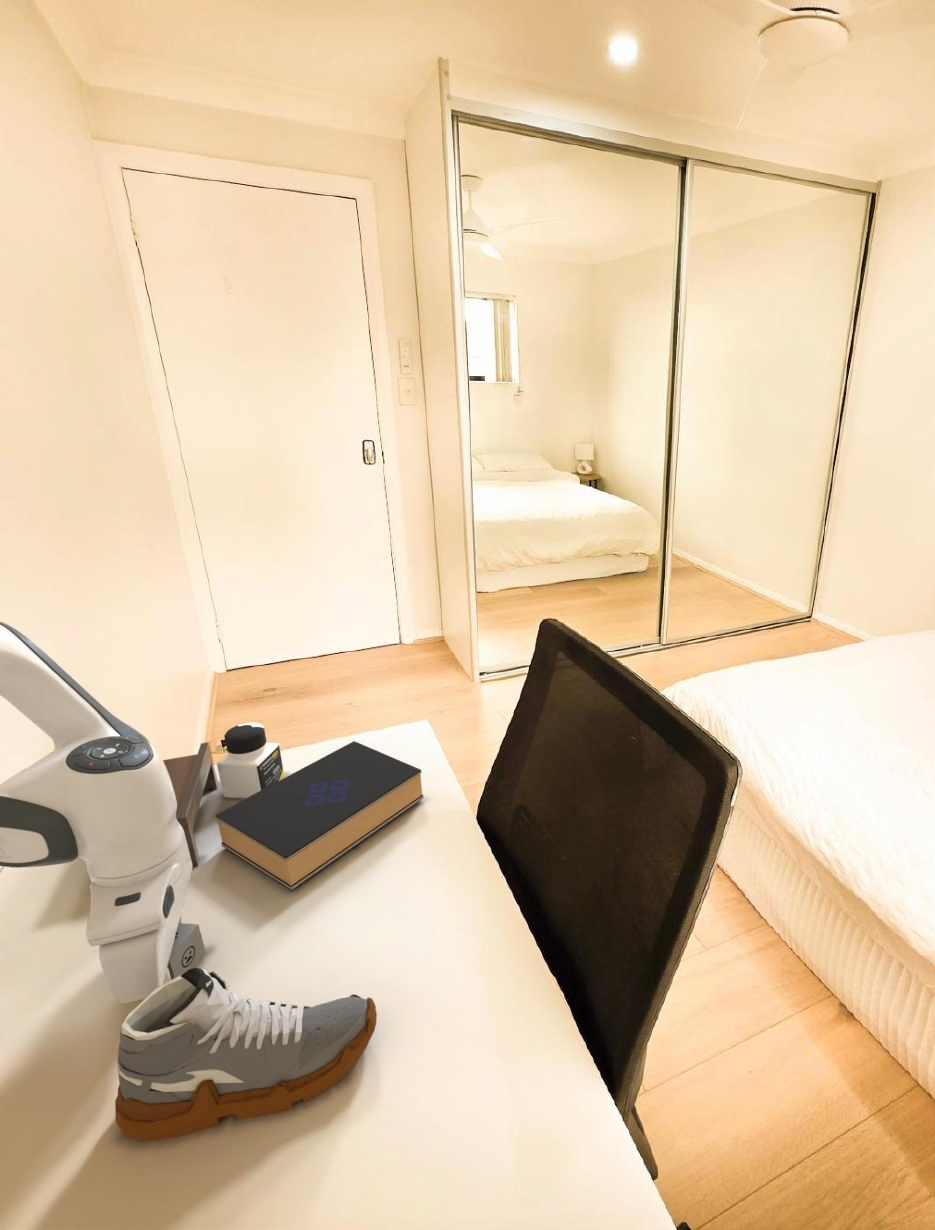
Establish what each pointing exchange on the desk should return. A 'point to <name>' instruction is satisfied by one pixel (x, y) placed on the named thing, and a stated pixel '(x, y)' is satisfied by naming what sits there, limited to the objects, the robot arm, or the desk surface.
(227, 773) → the medicine bottle
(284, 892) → the desk surface
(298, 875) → the book
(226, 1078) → the sneaker
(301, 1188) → the desk surface
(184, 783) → the wooden cradle stand
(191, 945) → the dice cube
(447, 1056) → the desk surface
